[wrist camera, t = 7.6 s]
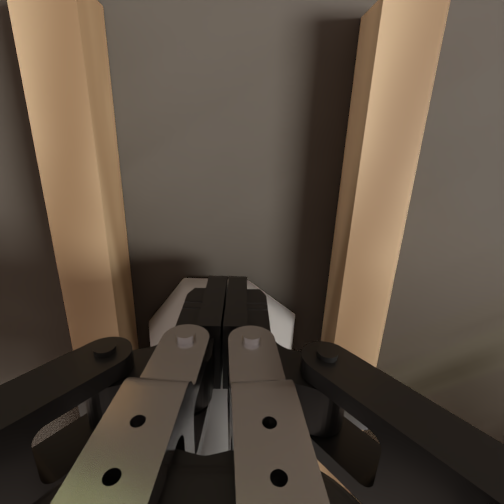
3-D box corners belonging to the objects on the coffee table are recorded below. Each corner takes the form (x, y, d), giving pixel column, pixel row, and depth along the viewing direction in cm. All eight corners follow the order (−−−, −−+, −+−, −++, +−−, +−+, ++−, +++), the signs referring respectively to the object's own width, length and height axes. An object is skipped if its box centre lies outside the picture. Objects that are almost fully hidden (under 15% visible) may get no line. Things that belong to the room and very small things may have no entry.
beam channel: (418, 20, 11) (459, -7, 9) (337, 475, 19) (349, 518, 17) (42, 3, 11) (-8, -30, 9) (116, 474, 19) (100, 518, 17)
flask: (132, 375, 16) (-19, 695, 7) (171, 251, 14) (23, 478, 5) (263, 412, 17) (284, 735, 8) (319, 301, 15) (439, 572, 6)
